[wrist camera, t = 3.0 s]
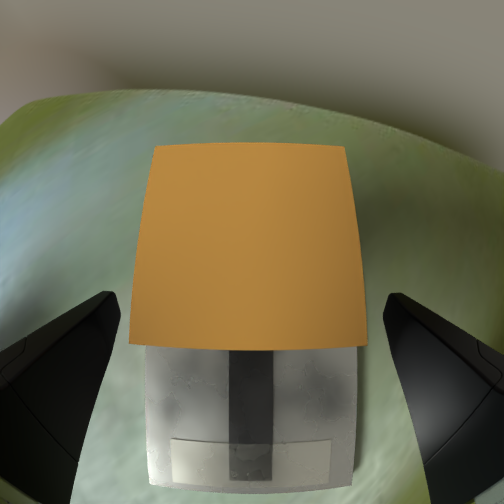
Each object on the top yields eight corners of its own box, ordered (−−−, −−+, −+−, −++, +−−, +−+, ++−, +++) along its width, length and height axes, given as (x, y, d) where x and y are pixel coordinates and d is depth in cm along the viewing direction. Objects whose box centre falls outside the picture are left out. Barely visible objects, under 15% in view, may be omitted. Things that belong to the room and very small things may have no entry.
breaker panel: (345, 478, 14) (368, 504, 10) (155, 477, 14) (132, 503, 10) (340, 211, 20) (358, 178, 16) (164, 210, 20) (145, 177, 16)
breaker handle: (289, 350, 16) (367, 345, 5) (211, 350, 16) (128, 343, 5) (288, 275, 17) (343, 146, 6) (213, 275, 17) (155, 146, 6)
